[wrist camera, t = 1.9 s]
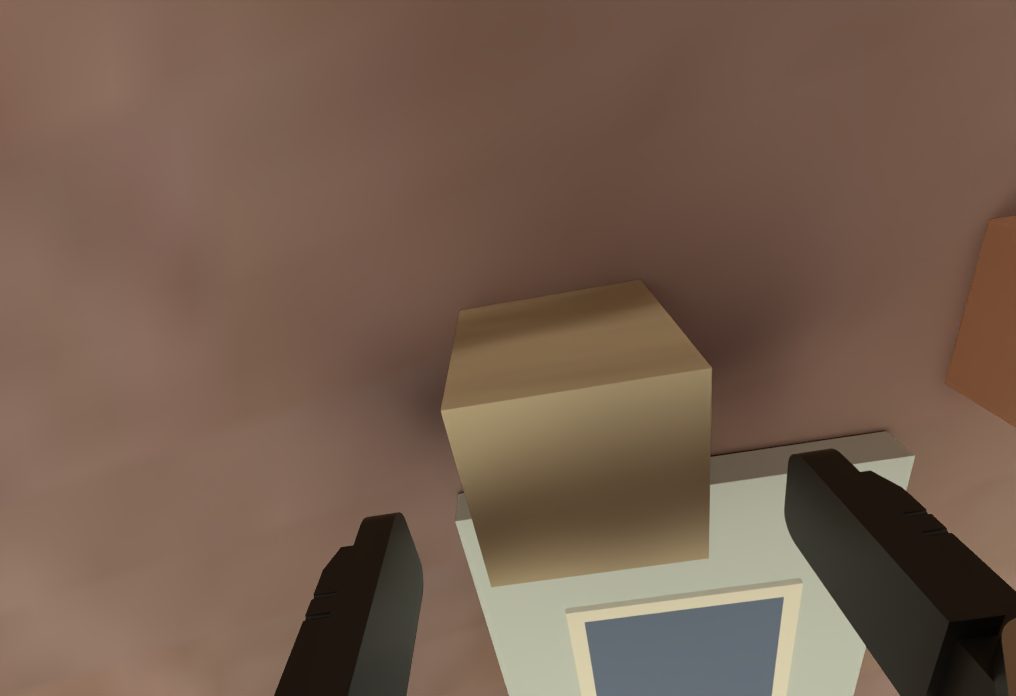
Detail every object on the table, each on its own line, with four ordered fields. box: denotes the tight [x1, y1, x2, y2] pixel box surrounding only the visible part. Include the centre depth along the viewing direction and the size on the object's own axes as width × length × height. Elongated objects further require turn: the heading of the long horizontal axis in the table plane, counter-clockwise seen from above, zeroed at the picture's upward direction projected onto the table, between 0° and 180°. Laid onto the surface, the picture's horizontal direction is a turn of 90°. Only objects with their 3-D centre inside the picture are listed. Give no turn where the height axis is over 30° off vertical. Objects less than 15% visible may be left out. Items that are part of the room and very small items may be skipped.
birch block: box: [441, 279, 712, 587], centre depth 12 cm, size 5×5×5 cm
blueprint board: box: [455, 431, 915, 696], centre depth 19 cm, size 18×14×1 cm
